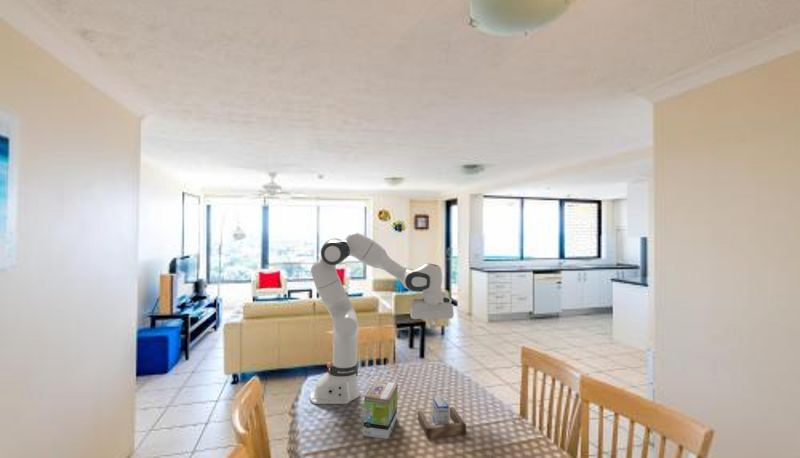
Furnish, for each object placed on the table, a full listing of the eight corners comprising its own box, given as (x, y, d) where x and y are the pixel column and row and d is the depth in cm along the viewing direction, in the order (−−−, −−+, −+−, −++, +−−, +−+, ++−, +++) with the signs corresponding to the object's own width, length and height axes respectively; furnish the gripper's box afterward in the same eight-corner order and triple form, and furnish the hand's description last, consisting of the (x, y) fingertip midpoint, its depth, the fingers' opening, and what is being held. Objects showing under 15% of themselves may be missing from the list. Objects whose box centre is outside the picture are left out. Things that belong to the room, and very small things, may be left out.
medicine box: (432, 418, 148) (432, 397, 148) (442, 417, 149) (443, 396, 149) (437, 429, 140) (438, 406, 140) (448, 428, 141) (449, 405, 141)
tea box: (389, 440, 133) (389, 399, 133) (362, 436, 135) (362, 396, 135) (397, 418, 147) (398, 382, 147) (373, 415, 149) (374, 379, 149)
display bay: (427, 438, 134) (427, 428, 134) (417, 419, 147) (417, 410, 147) (465, 433, 137) (465, 424, 137) (452, 415, 150) (453, 407, 150)
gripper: (412, 299, 166) (411, 330, 165) (454, 299, 170) (454, 329, 170) (409, 297, 172) (408, 327, 172) (450, 297, 177) (449, 326, 176)
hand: (431, 328), depth 171 cm, fingers closed
